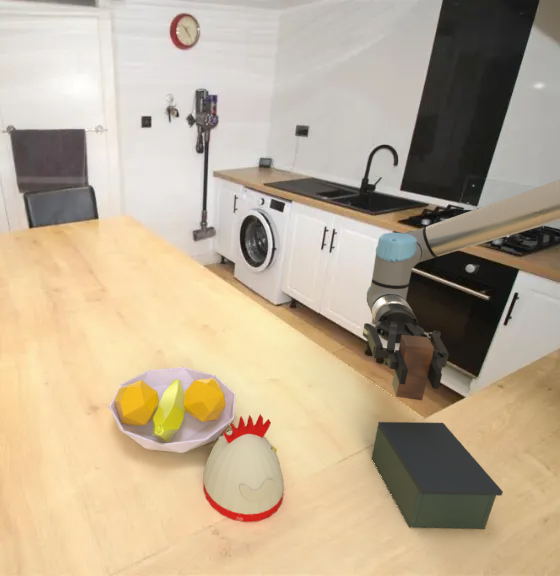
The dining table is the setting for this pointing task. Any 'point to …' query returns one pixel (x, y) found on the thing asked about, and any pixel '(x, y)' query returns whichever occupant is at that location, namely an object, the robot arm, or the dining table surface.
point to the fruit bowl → (173, 409)
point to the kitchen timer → (244, 473)
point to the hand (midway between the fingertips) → (420, 379)
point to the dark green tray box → (428, 496)
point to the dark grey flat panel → (437, 459)
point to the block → (414, 366)
